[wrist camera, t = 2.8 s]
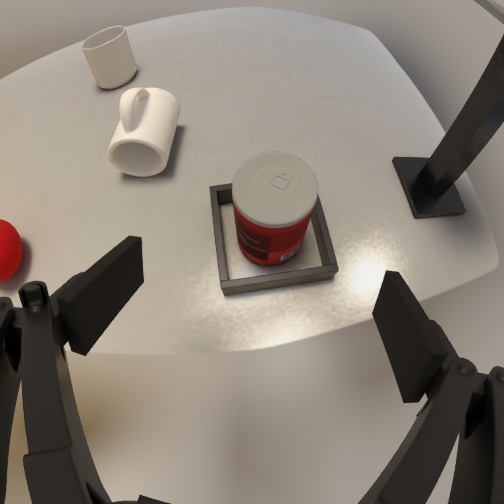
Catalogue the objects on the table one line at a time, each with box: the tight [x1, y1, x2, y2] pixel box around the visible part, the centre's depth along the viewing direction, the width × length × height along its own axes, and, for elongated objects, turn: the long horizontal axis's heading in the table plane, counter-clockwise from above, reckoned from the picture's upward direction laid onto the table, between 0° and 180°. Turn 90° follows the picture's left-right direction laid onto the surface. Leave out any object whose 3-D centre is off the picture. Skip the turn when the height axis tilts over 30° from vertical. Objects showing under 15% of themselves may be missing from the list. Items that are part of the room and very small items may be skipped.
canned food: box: [232, 152, 318, 266], centre depth 31 cm, size 8×8×11 cm
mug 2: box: [108, 87, 180, 177], centre depth 36 cm, size 8×10×12 cm
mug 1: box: [82, 26, 137, 89], centre depth 45 cm, size 12×9×11 cm
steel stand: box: [392, 0, 504, 218], centre depth 25 cm, size 11×11×30 cm
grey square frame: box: [210, 183, 339, 295], centre depth 35 cm, size 13×13×3 cm
